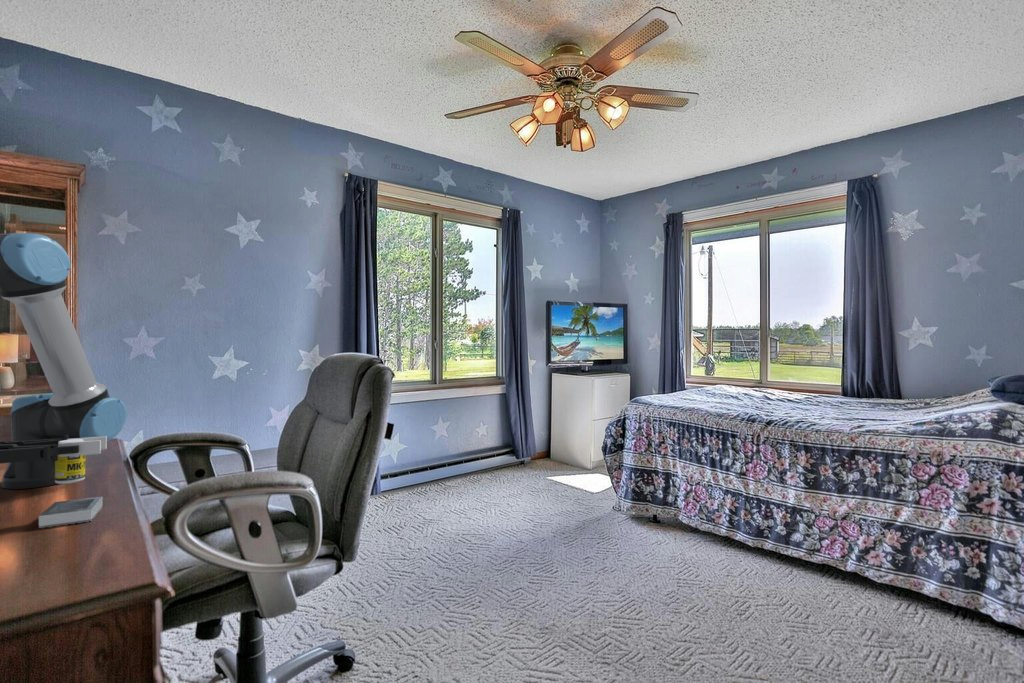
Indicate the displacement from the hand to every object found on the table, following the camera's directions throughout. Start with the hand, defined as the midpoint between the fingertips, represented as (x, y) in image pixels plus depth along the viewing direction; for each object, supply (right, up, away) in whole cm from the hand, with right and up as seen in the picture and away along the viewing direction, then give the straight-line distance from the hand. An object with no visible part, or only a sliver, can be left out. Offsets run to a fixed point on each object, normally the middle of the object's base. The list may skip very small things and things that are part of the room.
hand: (103, 444), depth 107 cm
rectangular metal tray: (-5, -15, -2) cm, 16 cm away
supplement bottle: (-5, -7, -3) cm, 9 cm away
